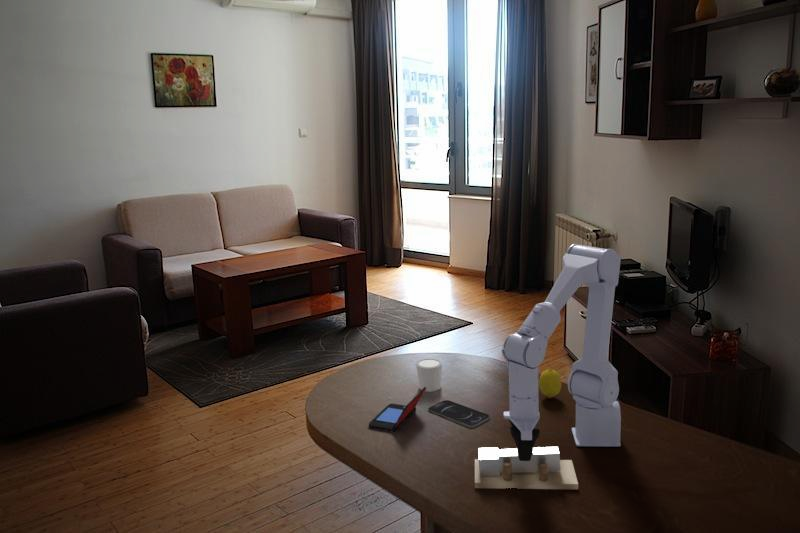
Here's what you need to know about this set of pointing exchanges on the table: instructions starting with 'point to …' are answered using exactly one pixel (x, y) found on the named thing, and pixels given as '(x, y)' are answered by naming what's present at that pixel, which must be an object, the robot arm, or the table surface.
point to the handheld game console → (395, 415)
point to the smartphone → (459, 413)
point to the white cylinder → (429, 374)
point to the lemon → (550, 383)
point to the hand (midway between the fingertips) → (524, 455)
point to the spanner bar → (516, 460)
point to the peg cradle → (530, 477)
